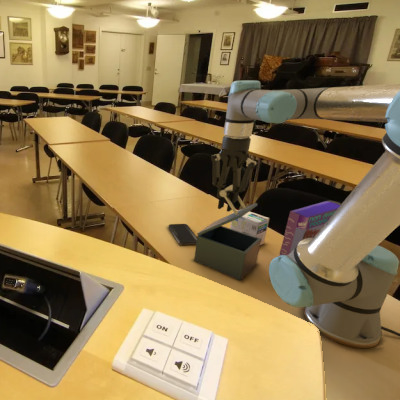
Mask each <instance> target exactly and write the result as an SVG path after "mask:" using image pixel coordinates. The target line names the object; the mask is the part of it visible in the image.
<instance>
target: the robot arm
mask: <svg viewBox="0 0 400 400" xmlns="http://www.w3.org/2000/svg"><path fill="white" fill-rule="evenodd" d="M255 120H256V121H261V122H265V123H267V124H283V123H285V122H287V121H290V120H292V121H293V120H336V121H353V122H354V121H355V122H373V123H374V122H375V123H385V124H384V129H385V133H384V135H383V136H382V138H381V143H382V146H383V149H384V152H383V153H382V155H381V156H380V157H379V158H378V159H377V161H376V162H375V163H374V165H372V167H371V168H370V169H369V170H368V171H367V173H366V174H365V175H364V176H363V178H361V180H360V181H359V182H358V183H357V185H356V186H355V187H354V188H353V190H352V191H350V193H349V194H348V196H347V197H346V198H345V199H344V201H342V203H341V205H340V207H339V208H338V209H337V210H336V211H335V213H334V214H333V215H332V216H331V217H330V219H329V220H328V221H327V222H326V223H325V225H324V226H323V227H322V228H321V229H320V231H319V232H318V233H317V234H316V235H315V237H314V238H306V239H303V240H302V241H300V242H299V243H298V245H297V246H296V247H295V248H294V250H293V251H292V252H291V253H290V254H288V255H280V254H279V255H280V256H279V255H278V256H275V257H274V258H272V259H271V261H270V263H269V267H268V275H269V280H270V283H271V285H272V288H273V290H274V291H275V293H276V294H277V296H278V297H279V298H280V299H281V300H282V301H283V302H284V303H285V304H287V305H289V306H291V307H293V308H304V310H303V315H304V318H305V321H306V322H307V321H308V322H310V323H312V324H314V325H315V326H316V327H317V328H318V329H319V331H320V333H319V334H320V335H322V336H323V337H325V338H327V339H329V340H331V341H333V342H334V343H338V344H340V345H344V346H346V347H351V348H356V349H369V348H373V347H376V346H377V345H378V344H379V342H380V340H381V338H382V334H383V332H382V330H383V331H385V332H388V333H390V334H393V335H395V336H397V337H399V338H400V332H398V331H395V330H393V329H390V328H388V327H385V326H383V325H382V322H381V321H382V320H381V310H382V308H383V305H384V303H385V301H386V298H387V296H388V294H389V291H390V289H391V287H392V285H393V282H394V280H395V277H396V276H397V275H398V270H399V266H400V260H399V258H398V257H397V255H396V254H395V253H393V252H392V251H390V250H389V249H387V248H385V247H383V246H381V245H380V243H382V242H383V241H385V239H386V238H387V237H388V236H390V234H391V233H393V231H395V229H397V228H398V227H399V226H400V83H388V84H372V85H371V84H369V85H354V86H353V85H351V86H335V87H316V88H315V87H314V88H301V89H299V88H298V89H297V88H296V89H272V90H270V89H261V81H259V80H251V79H250V80H249V79H248V80H246V79H245V80H235V81H233V82H232V83H231V84H230V89H229V93H228V95H227V106H226V114H225V120H224V121H225V122H224V126H223V127H224V128H223V132H222V133H223V135H224V136H223V137H222V142H221V148H220V149H221V150H220V151H219V153H215V154H213V155H211V156H210V159H211V162H212V167H211V168H212V169H211V170H212V172H211V175H212V177H211V178H212V179H211V180H212V181H211V182H212V183H211V184H212V186H214V187H216V188H217V192H216V198H217V199H218V203H217V209H219V210H221V209H222V208H224V207H225V202H226V199H225V198H224V197H221V196H220V191H221V190H223V189H225V188H226V183H227V179H228V175H229V173H230V168H232V172H233V173H232V185H233V190H232V191H231V192H230V193H229V195H228V198H229V200H230V201H231V203H232V204H233V205H234V204H235V203H236V202H237V201H238V200H237V199H238V196H239V194H240V193H243V192H245V191H246V190H247V187H248V186H249V185H248V184H249V182H250V179H251V176H252V173H253V170H254V168H255V167H256V166H257V165H258V161H257V160H253V159H251V158H250V153H249V150H250V145H251V140H252V139H251V136H252V133H253V129H254V123H255ZM220 160H221V161H222V166H221V162H220ZM245 163H246V164H245ZM244 164H245V166H246V168H245V170H244V173H243V176H242V175H241V174H242V168H243V165H244ZM220 167H221V168H220ZM220 172H221V173H220ZM241 177H242V178H241ZM231 211H233V210H232V209H231V207H230V206H229V204H228V203H227V206H226V212H228V213H229V212H231ZM308 322H307V323H308Z"/></svg>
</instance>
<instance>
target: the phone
mask: <svg viewBox="0 0 400 400" xmlns="http://www.w3.org/2000/svg"><path fill="white" fill-rule="evenodd" d="M168 229H169V231H170V233H171V234H172V236H173V237H174V239H175V241H176V242H177V243H178V245H179V246H192V245H194V246H195V245H196V242H197V235H196V234H195V233H194V232H193V229H192V228H191V227H190V226H189V225H188V223H170V224H168Z"/></svg>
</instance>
